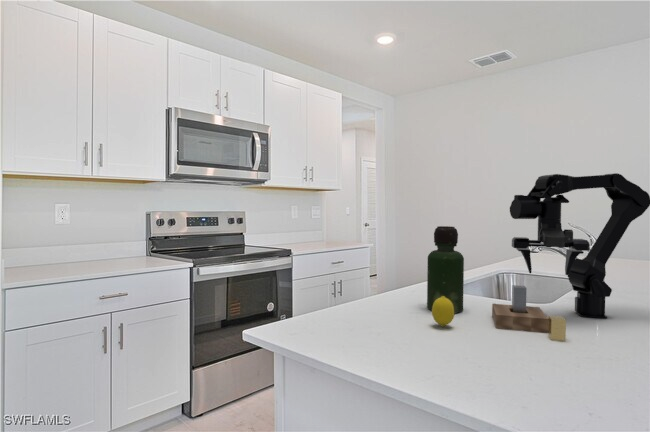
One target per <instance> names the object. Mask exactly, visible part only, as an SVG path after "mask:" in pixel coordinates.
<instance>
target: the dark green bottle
mask: <svg viewBox="0 0 650 432" xmlns="http://www.w3.org/2000/svg"><path fill="white" fill-rule="evenodd" d="M458 239H459V233H458V230H457V228H455V226H450V225H449V226H448V225H447V226H443V225H441V226H436V228H435V229H434V232H433V243H434V246H436V248H437V249H435V250H432V251H431V252H430V253H428V256H427V271H426V273H427V274H426V275H427V277H426V278H427V280H426V281H427V282H426V283H427V284H426V285H427V286H426V287H427V288H426V290H427V291H426V298H427V299H426V308H428V310H430V311H432V307H433V304H434V302H435V300H436V299H438V298H441V297H442V296H445V298H447V299H449V300H450V301H451V302H452V304H453V307H454V314H457V313H461V312H463V310H464V281H465V279H464V278H465V277H464V273H465V272H464V271H465V268H464V267H465V258H464V255H463V254H462V253H461V252H460V251H458V250H455V247H457V245H458V242H459V240H458Z"/></svg>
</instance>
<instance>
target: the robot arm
mask: <svg viewBox="0 0 650 432" xmlns="http://www.w3.org/2000/svg"><path fill="white" fill-rule="evenodd" d="M600 188H601V189H604V190H605V193H606V194H607V197H608V198H609V199H610V200H611V201H612V202H611V204H610V207H611V208H610V209H611V212H610V213H611V215H610V217H609V219H608V221H607V222H606V223H605V226H604V227H603V229H602V230H601V232H600V234H599V235H598V237H597V239H596V240H595V241H594V244H593V245H592V247H591V248H590V241H588V240H587V239H585V238H584V239H583V238H574V231H573V229H562V204H569V203H570V200H569V199H568V198H566V197H565V196H564V194H567V193H569V192H572V191H577V190H586V189H587V190H588V189H600ZM554 196H555V197H554ZM541 199H543V200H541ZM648 208H650V194H649V192H647V191H645V190H644V189H642V188H641V187H640V186H639V185H637V184H635V183H634V182H632V181H630V180H628V179H627V178H625V177H624V176H623V175H622V174H620V173H616V172H615V173H606V174H601V175H597V174H596V175H586V176H585V175H583V176H571V175H568V174H562V173H561V174H560V173H555V174H546V175H540V176H538V178H536V180H535V183H534V186H533V187H532V189H531V190H530V191H529V193H528V194H527V195H523V194H515V195H514V197H513V200H512V201H511V204H510V206H509V213H510V217H511V218H512V219H514V220H536V219H537V239H530V238H528V237H523V236H521V237H519V236H514V237H513V238H512V239H511V247H512V248H514V249H516V250H517V251H518V252H520V253H521V255H522V257H523V258H524V259H523V260H524V261H525V265H526V267H527V270H528V272H529V274H532V270H533V269H532V260H531V249H530V248H529V247H538V248H539V247H540V248H543V247H544V248H559V249H563V248H567V249H566V253H565V263H564V264H565V266H564V272H565V274H564V275H566V276H567V278H568V281H569V283H570V284H571V287H572V289H573V291H575V292H576V296H575V297H574V312H575V313H577V314H578V315H579V316H580V317H585V318H597V319H608V316H607V315H606V298H610V296H611V293H612V292H613V290H612V288H611V287H610V285H608V284H607V283H606V281H605V278H606V275H607V272H606V265H607V262H608V261H609V259H610V257H611V256H612V254H613V253H614V251H615V249H616V247H617V246H618V244H619V243H620V241H621V239H622V237H623V236H624V234H625V233H626V231H627V229H628V228H629V226H630V224H631V223H632V222H633V221H635V220H636V219H638V218H639V217H640V216H643V214H644V213H645V212H646V211H647V210H648ZM584 251H585V252H586V251H588V253H587V255H586V256H585V257H584V258H582V259H580V258H578V256H579V255H580V254H582V255H583V254H584Z"/></svg>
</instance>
